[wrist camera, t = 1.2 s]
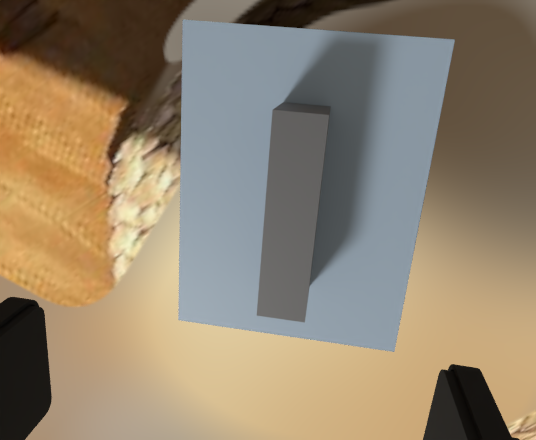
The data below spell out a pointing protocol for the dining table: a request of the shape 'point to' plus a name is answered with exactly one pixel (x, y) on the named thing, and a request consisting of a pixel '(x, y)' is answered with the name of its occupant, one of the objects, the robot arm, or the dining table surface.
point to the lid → (304, 177)
